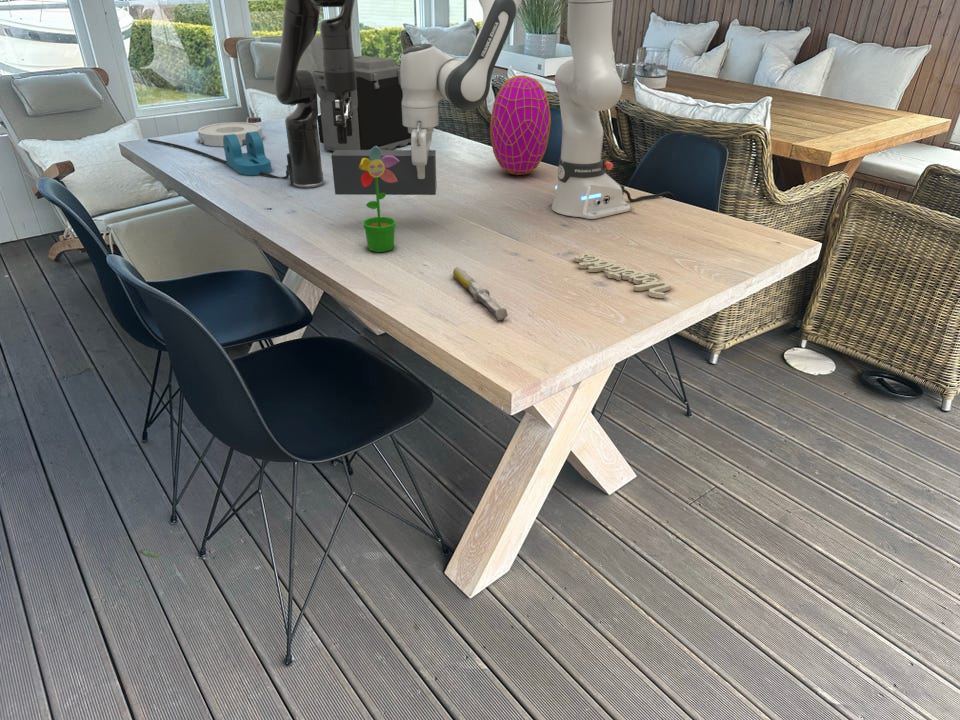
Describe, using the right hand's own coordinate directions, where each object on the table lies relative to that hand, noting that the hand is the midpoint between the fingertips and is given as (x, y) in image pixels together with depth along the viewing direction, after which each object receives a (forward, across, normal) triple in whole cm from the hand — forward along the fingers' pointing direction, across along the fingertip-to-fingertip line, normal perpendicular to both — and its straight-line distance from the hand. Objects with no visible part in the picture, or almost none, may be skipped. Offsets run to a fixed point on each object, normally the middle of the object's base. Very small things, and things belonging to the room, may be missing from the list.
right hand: (422, 174), depth 174 cm
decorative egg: (+14, +53, -28) cm, 62 cm away
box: (+4, 0, +9) cm, 10 cm away
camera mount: (+14, +57, +61) cm, 85 cm away
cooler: (+14, +90, +25) cm, 94 cm away
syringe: (+14, -42, -14) cm, 47 cm away
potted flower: (+14, -15, +10) cm, 22 cm away
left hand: (-8, 0, +19) cm, 21 cm away
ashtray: (+14, +98, +80) cm, 127 cm away
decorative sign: (+14, -31, -47) cm, 58 cm away
